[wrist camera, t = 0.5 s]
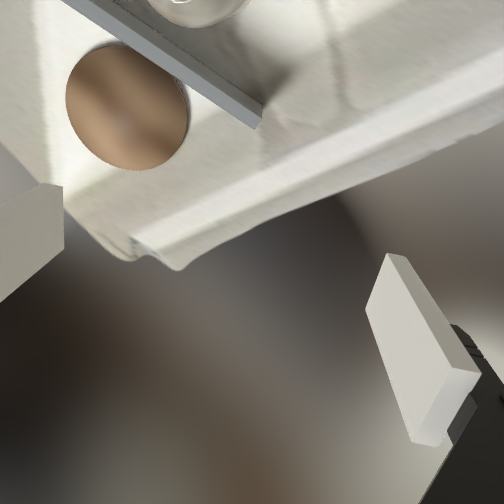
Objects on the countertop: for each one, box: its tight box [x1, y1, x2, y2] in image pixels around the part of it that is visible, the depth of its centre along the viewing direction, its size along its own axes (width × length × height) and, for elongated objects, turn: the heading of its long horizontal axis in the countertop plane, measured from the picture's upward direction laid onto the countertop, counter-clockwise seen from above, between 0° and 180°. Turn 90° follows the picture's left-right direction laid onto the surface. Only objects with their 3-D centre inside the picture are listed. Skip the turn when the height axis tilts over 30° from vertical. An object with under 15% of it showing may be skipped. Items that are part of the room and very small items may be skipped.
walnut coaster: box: [66, 46, 187, 170], centre depth 40 cm, size 12×12×1 cm
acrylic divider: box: [61, 0, 263, 130], centre depth 34 cm, size 1×20×5 cm, turn 57°
